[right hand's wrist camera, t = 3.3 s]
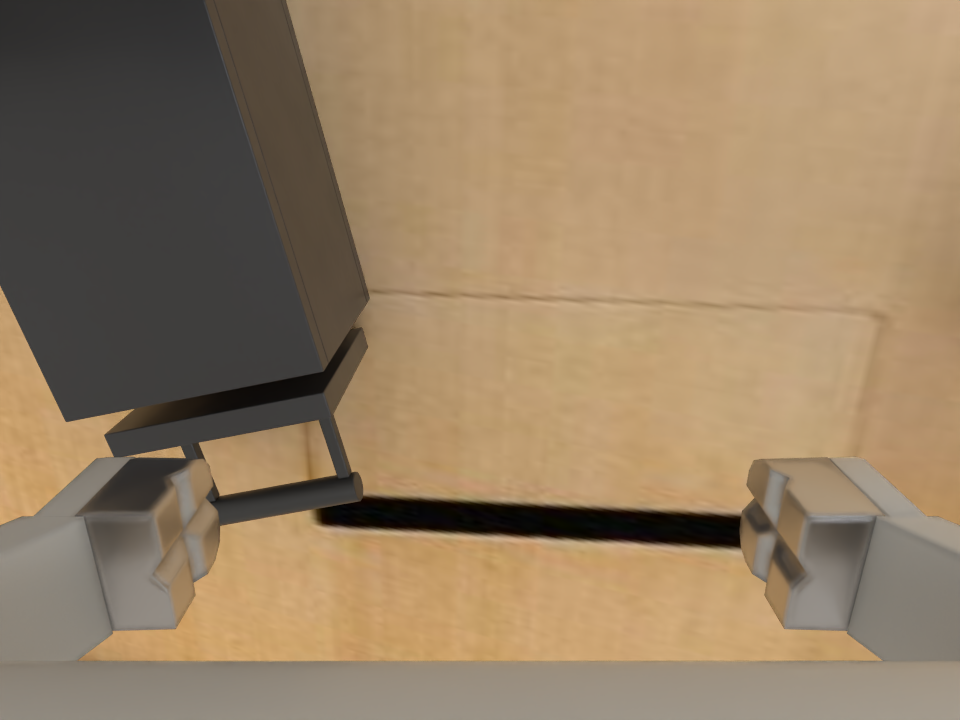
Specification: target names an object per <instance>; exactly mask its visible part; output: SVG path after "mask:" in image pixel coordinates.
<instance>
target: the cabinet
mask: <svg viewBox="0 0 960 720" xmlns="http://www.w3.org/2000/svg"><path fill="white" fill-rule="evenodd" d="M0 286H1V288H2V290H3V292H4V294H5V296H6V298H7V301H8V303H9V305H10V307H11V309H12V311H13V313H14V315H15V317H16V319H17V321H18V323H19V325H20V328H21V330H22V332H23V334H24V336H25V338H26V340H27V342H28V344H29V346H30V348H31V350H32V352H33V355H34V357H35V359H36V361H37V363H38V365H39V367H40V369H41V371H42V373H43V375H44V377H45V379H46V382H47V384H48V386H49V388H50V390H51V392H52V394H53V396H54V398H55V400H56V402H57V404H58V406H59V409H60V411H61V413H62V415H63V417H64V419H65V421H66V422H69V421H74V420H80V419H85V418H90V417H95V416H100V415H105V414H110V413H115V412H120V411H125V410H130V409H136V408H141V407H146V406H151V405H156V404H161V403H166V402H171V401H176V400H181V399H186V398H192V397H197V396H202V395H207V394H212V393H217V392H222V391H227V390H232V389H237V388H242V387H248V386H253V385H258V384H263V383H268V382H273V381H278V380H283V379H288V378H293V377H298V376H304V375H309V374H314V373H319V372H323V371H324V370H325V368H326V367H327V365H328V363H329V362H330V360H331V359H332V357H333V355H334V354H335V352H336V351H337V349H338V348H339V346H340V344H341V343H342V341H343V340H344V338H345V337H346V335H347V334H348V332H349V330H350V329H351V327H352V326H353V324H354V323H355V321H356V319H357V318H358V316H359V315H360V313H361V312H362V310H363V308H364V307H365V305H366V304H367V302H368V301H369V294H368V291H367V287H366V283H365V280H364V276H363V273H362V269H361V266H360V262H359V259H358V255H357V252H356V248H355V245H354V241H353V237H352V234H351V230H350V227H349V223H348V220H347V216H346V213H345V209H344V206H343V202H342V198H341V195H340V191H339V188H338V184H337V181H336V177H335V174H334V170H333V167H332V163H331V160H330V156H329V152H328V149H327V145H326V142H325V138H324V135H323V131H322V128H321V124H320V121H319V117H318V113H317V110H316V106H315V103H314V99H313V96H312V92H311V89H310V85H309V82H308V78H307V75H306V71H305V67H304V64H303V60H302V57H301V53H300V50H299V46H298V43H297V39H296V36H295V32H294V28H293V25H292V21H291V18H290V14H289V11H288V7H287V4H286V0H0Z"/></svg>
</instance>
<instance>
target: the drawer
mask: <svg viewBox="0 0 960 720" xmlns="http://www.w3.org/2000/svg"><path fill="white" fill-rule="evenodd" d="M367 348H368V345H367V342H366V338H365V335H364V331H363V328H356V329H351V330H349V332H348V334H347V335H346V337H345V338H344V340H343V341H342V343H341V344H340V346H339V348H338V349H337V351H336V352H335V354H334V355H333V357H332V359H331V360H330V362H329V363H328V365H327V367H326V368H325V370H324V371H323V372H319V373H314V374H309V375H304V376H298V377H293V378H288V379H283V380H278V381H273V382H268V383H263V384H258V385H253V386H248V387H242V388H237V389H232V390H227V391H222V392H217V393H212V394H207V395H202V396H197V397H192V398H186V399H181V400H176V401H171V402H166V403H161V404H156V405H151V406H146V407H141V408H136V409H134V410H133V411H132V412H131V413H130V414H128V415H127V416H126V417H125V418H124V419H122V420H121V421H120V422H119V423H118V424H117V425H115V426H114V427H113V428H112V429H111V430H110V431H108V432H107V433H106V434H105V435H104V436H105V438H106V441H107V443H108V445H109V447H110V449H111V451H112V453H113V456H114V457H125V456H130V455H135V454H141V453H146V452H151V451H156V450H162V449H167V448H172V447H177V446H181V447H182V450H183V452H184V455H185V457H186V458H191V459H204V460H205V458H204V455H203V453H202V451H201V448H200V446H199V442H204V441H209V440H214V439H220V438H225V437H230V436H236V435H241V434H246V433H251V432H257V431H262V430H267V429H272V428H278V427H283V426H288V425H294V424H299V423H304V422H309V421H315V420H319V422H320V425H321V428H322V431H323V434H324V437H325V440H326V443H327V446H328V449H329V452H330V455H331V458H332V461H333V464H334V467H335V470H336V473H337V475H335V476H329V477H324V478H318V479H312V480H307V481H301V482H296V483H290V484H285V485H279V486H274V487H268V488H263V489H257V490H252V491H246V492H241V493H235V494H230V495H224V496H219V492H218V490H217V487H216V485H215V482H214V480H213V477H212V480H213V487H212V488H211V490H210V491H209V493H208V494H207V496H206V499H207V500H208V501H209V502H210V503H211V504H212V505H213V507H214V508H215V509H216V510H217V511H218V516H219V522H220V526H221V525H227V524H232V523H238V522H244V521H249V520H255V519H261V518H266V517H272V516H278V515H283V514H289V513H295V512H300V511H306V510H312V509H317V508H323V507H329V506H334V505H340V504H346V503H351V502H357V501H361V500H362V497H363V484H362V480H361V477H360V475H359V473H358V472H351V468H350V465H349V462H348V459H347V456H346V452H345V449H344V446H343V443H342V440H341V437H340V434H339V431H338V428H337V425H336V421H335V418H334V415H333V414H334V412H335V410H336V408H337V406H338V404H339V402H340V400H341V398H342V396H343V394H344V392H345V390H346V389H347V387H348V385H349V383H350V381H351V379H352V377H353V375H354V373H355V371H356V369H357V367H358V365H359V364H360V362H361V360H362V358H363V356H364V354H365V352H366V350H367ZM205 461H206V460H205ZM211 476H212V475H211Z"/></svg>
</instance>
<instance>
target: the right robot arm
mask: <svg viewBox="0 0 960 720" xmlns="http://www.w3.org/2000/svg"><path fill="white" fill-rule="evenodd" d="M212 487H213V480H212V476H211V471H210V466H209V465H208V463H207V462H206V461H205V460H204V459H191V458H135V457H107V458H97V459H95V460H94V461H93V462H92V463H91V464H90V465H89V466H88V467H87V468H86V469H84V470H83V471H82V472H81V473H80V474H79V475H78V476H77V477H76V478H75V479H74V480H72V481H71V482H70V483H69V484H68V485H67V486H66V487H65V488H64V489H63V490H62V491H60V492H59V493H58V494H57V495H56V496H55V497H54V498H53V499H52V500H51V501H50V502H48V503H47V504H46V505H45V506H44V507H43V508H42V509H41V510H40V511H39V512H38V513H36V514H35V515H34V516H27V517H20V518H17V519H15V520H12V521H10V522H7V523H5V524H2V525H0V720H960V525H958V524H955V523H953V522H950V521H948V520H945V519H943V518H940V517H933V516H926V515H925V514H924V513H923V512H921V511H920V510H919V509H918V508H917V507H916V506H915V505H914V504H913V503H912V502H911V501H909V500H908V499H907V498H906V497H905V496H904V495H903V494H902V493H901V492H900V491H899V490H897V489H896V488H895V487H894V486H893V485H892V484H891V483H890V482H889V481H888V480H887V479H886V478H884V477H883V476H882V475H881V474H880V473H879V472H878V471H877V470H876V469H875V468H874V467H872V466H871V465H870V464H869V463H868V462H867V461H866V460H865V459H862V458H858V457H836V458H828V457H826V458H785V459H759V460H754V461H753V463H752V465H751V468H750V470H749V474H748V480H747V487H748V488H749V490H750V491H751V493H752V494H753V496H754V499H753V500H752V501H751V502H750V503H749V504H748V505H747V506H746V508H745V509H744V510H743V511H742V516H741V524H740V539H741V549H742V552H743V555H744V558H745V562H746V563H747V565H748V567H749V569H750V571H751V573H752V574H753V575H755V576H757V577H758V578H760V579H761V580H763V581H765V582H766V583H767V584H766V589H765V597H766V599H767V600H768V602H769V604H770V605H771V607H772V609H773V610H774V612H775V614H776V616H777V617H778V619H779V621H780V622H781V624H782V626H783V628H784V629H801V630H838V631H848V632H847V634H848V635H850V636H851V637H852V638H854V639H855V640H856V641H858V642H859V643H860V644H862V645H863V646H864V647H866V648H867V649H868V650H870V651H871V652H872V653H874V654H875V655H876V656H878V657H879V658H880V659H882V660H883V661H77V660H78V659H80V658H81V657H82V656H84V655H85V654H86V653H88V652H89V651H90V650H92V649H93V648H94V647H96V646H97V645H98V644H100V643H101V642H102V641H104V640H105V639H106V638H108V637H109V636H110V635H112V634H113V632H112V631H122V630H157V629H176V628H177V626H178V624H179V622H180V621H181V619H182V617H183V616H184V614H185V612H186V611H187V609H188V607H189V605H190V604H191V602H192V600H193V599H194V597H195V589H194V584H193V583H194V582H195V581H197V580H199V579H200V578H202V577H203V576H205V575H207V574H208V573H209V571H210V569H211V567H212V565H213V563H214V561H215V559H216V555H217V551H218V546H219V542H220V522H219V516H218V511H217V510H216V509H215V508H214V507H213V505H212V504H211V503H210V502H209V501H208V500H207V499H206V496H207V494H208V493H209V491H210V490H211V488H212Z"/></svg>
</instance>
